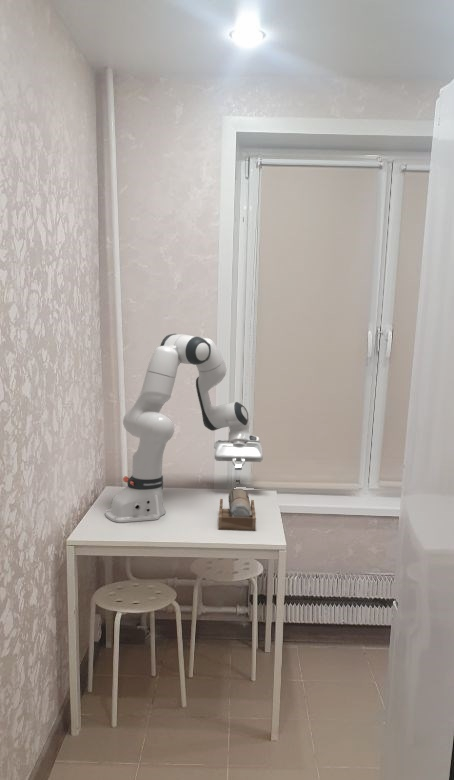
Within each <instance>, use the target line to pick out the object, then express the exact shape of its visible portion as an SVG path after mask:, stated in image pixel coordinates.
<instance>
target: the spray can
mask: <svg viewBox="0 0 454 780" xmlns="http://www.w3.org/2000/svg"><path fill="white" fill-rule="evenodd" d="M228 506H229V507H228V509H230V515H231V517H252V511H251V500H250V497H249V494H248V492H247V491H246V490H245V489H243V488H234V489H232V490H231V491H230V492H229V493H228Z"/></svg>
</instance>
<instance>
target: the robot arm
mask: <svg viewBox="0 0 454 780" xmlns="http://www.w3.org/2000/svg"><path fill="white" fill-rule="evenodd" d="M180 364H186V365H187V364H188V365H194V366H195V365H196V369H197V371H198V376H197V377H196V379H195V388H196V392H197V398H198V401H199V407H200V410H201V414H202V415H201V416H202V422H203V425H204V427H205V428H207V429H208V430H210V431H212V432H213V431H216V430H220V429H224V428H229V432H228V440H225V439H224V440H217V441H215V442H214V446H213V448H214V460H215V461H216V462H231V463H232V465H233V466H234V470H235V471H242V470H243V466H244V465H245V463H246V462H248V463H249V462H250V463H252V462H253V463H261V462H262V461H263V459H264V453H263V446H262V443H260V442H261V441H260V437H259V436H256V435H253V434H251V433H250V432H249V430H250V416H249V412H248V409H247V408H246V406H244V405H243V404H241V402H238V401H233V402H229V403H225V404H220V405H212V403H211V398H210V394H209V393H210V390H211V389H213V388H214V387H216V386H217V385H219V384H220V383H221V382H222V381H223V380H224V378H225V377H226V374H227V367H226V362H225V360H224V358H223V356H222V353H221V351H220V350H219V348H218V346H217V344H215V342H214V340H212V339H210V338H209V337H200V336H194V335H190V334H187V333H185V334H184V333H183V334H182V333H171V334H168V335H166V336H165V337H164V338H163V339H162V341H161V343H160V345H159V346H157V347H156V348H155V350H154V351H153V353H152V355H151V357H150V361H149V363H148V366H147V369H146V373H145V375H144V376H145V377H144V379H143V380H144V381H143V384H142V387H141V391H140V393H139V395H138V397H137V399H136V400H135V402H134V403H133V406H132V407H131V408H130V409H129V410H128V411H127V412H126V413H125V414H124V416H123V420H122V425H123V428H124V429H125V430H126V432H127V433H128V434H130V435H132V436H133V437H136V438H138V439H139V443H138V446H137V450H136V451H135V452H134V453H133V455H132V466H131V468H132V474H131V476H124V477H123V478H122V480H123V482H125V483H127V486H125V488H124V489H122V490H121V491H120V492H118V493H117V494H116V495H115V496H114V497H113V498H112V501H111V506H110V508H108V509H105V510H104V516H105V517H106V518H107V519H108V520H110V521H112V522H114V523H129V522H143V521H154V520H155V521H157V520H159V519H160V517H162V516H163V515H165V514H166V509H165V505H164V499H163V489H164V476H163V458H164V457H163V456H164V452H165V449H166V445H167V443H168V442H169V441H170V440H171V439H172V438H173V436H174V433H175V424H174V422H173V421H172V419H170V418H169V417H168V416H167V415H165V414H163V413H161V410H162V408H163V406H164V405H165V404H166V403H167V402H168V401H169V400H170V399H171V397H172V393H173V388H174V386H175V381H176V377H177V372H178V367H179V366H180ZM237 462H240V463H239V464H237Z"/></svg>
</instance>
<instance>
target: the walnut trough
mask: <svg viewBox="0 0 454 780" xmlns="http://www.w3.org/2000/svg"><path fill="white" fill-rule="evenodd" d="M223 502H224V499H223V498H220V499H219V508H218V509H219V511H218V524H217V526H218V529H217V530H221V531H248V532H249V531H250V532H252V531H253V532H256V520H257V519H256V510H255V507H256V506H255V500H254V499H250V506H251V511H252V517H231V515H230V509H229V508H224V507H223V506H224V505H223V504H224V503H223Z"/></svg>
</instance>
